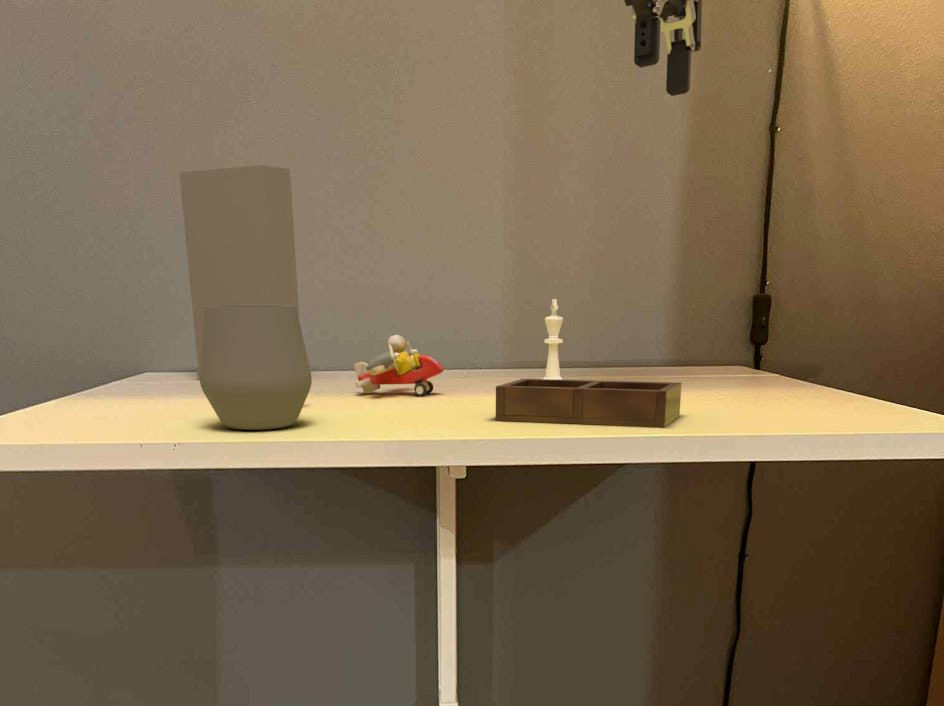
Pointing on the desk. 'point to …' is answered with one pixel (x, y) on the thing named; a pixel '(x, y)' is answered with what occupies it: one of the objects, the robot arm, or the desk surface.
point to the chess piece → (553, 342)
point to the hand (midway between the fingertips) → (662, 79)
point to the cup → (254, 365)
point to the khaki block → (238, 239)
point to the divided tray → (589, 402)
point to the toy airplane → (398, 368)
